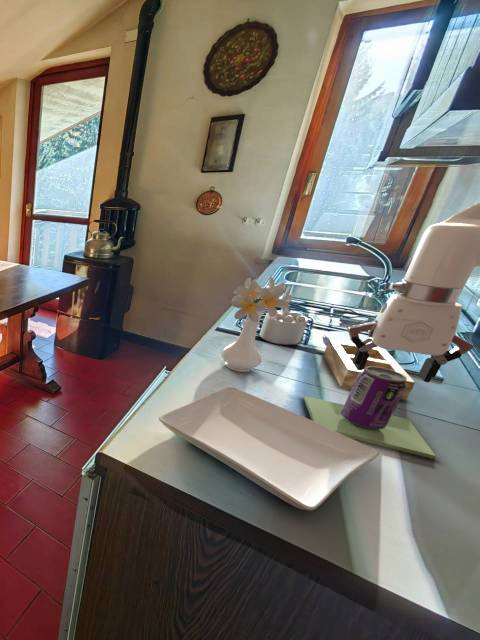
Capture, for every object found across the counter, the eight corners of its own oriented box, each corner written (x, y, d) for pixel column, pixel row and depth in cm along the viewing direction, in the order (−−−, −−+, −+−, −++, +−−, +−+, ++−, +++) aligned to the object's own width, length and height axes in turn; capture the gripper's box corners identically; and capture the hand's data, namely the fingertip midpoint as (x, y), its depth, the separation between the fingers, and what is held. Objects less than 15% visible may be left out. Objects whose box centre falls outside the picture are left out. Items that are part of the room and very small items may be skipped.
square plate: (152, 431, 82) (156, 415, 80) (226, 397, 94) (230, 383, 93) (304, 526, 60) (313, 507, 59) (374, 466, 72) (383, 449, 71)
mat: (407, 422, 85) (408, 419, 85) (434, 459, 74) (436, 456, 74) (303, 398, 94) (304, 395, 94) (314, 428, 83) (315, 425, 83)
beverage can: (385, 436, 79) (412, 385, 75) (339, 422, 84) (361, 373, 79) (383, 421, 84) (408, 372, 80) (340, 408, 89) (361, 361, 84)
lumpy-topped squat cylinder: (304, 337, 128) (313, 313, 125) (291, 347, 121) (300, 321, 117) (267, 328, 136) (275, 304, 132) (253, 337, 128) (261, 312, 125)
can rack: (377, 364, 111) (384, 348, 109) (405, 400, 93) (415, 382, 91) (323, 354, 116) (329, 339, 114) (340, 387, 99) (348, 369, 97)
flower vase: (205, 373, 105) (231, 284, 95) (218, 351, 118) (241, 270, 108) (264, 389, 98) (298, 294, 88) (270, 363, 111) (300, 278, 101)
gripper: (371, 291, 74) (338, 370, 80) (510, 305, 65) (460, 392, 72) (360, 281, 79) (330, 356, 86) (486, 293, 71) (442, 375, 78)
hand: (389, 373), depth 79 cm, fingers open, 9 cm apart
